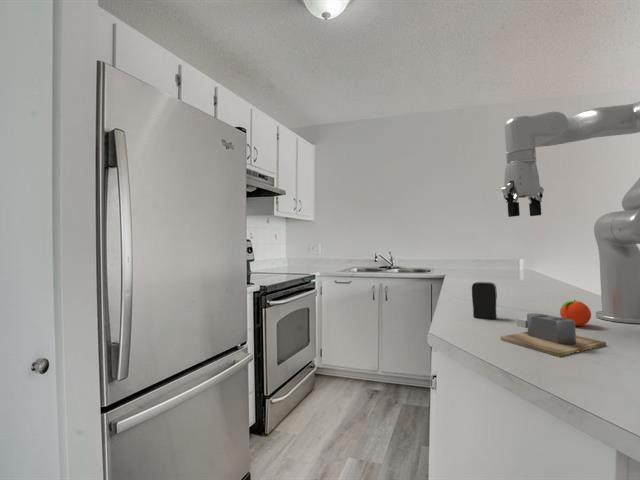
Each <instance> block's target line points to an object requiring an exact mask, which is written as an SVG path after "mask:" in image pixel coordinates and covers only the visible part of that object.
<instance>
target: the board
mask: <svg viewBox="0 0 640 480" xmlns="http://www.w3.org/2000/svg"><path fill="white" fill-rule="evenodd" d="M503 340H504V341H503ZM500 341H503V342H506V341H507V342H506V343H510V342H511V343H510V344H513V343H514V345H517V344H518V345H517V346H520V345H521V347H523V346H524V348H527V347H528V348H527V349H530V348H532V349H531V350H534V349H535V350H534V351H537V350H539V351H538V352H540V351H542V353H544V352H545V353H544V354H547V353H548V355H551V354H552V355H551V356H554V355H555V357H558V356H561V357H564V356H563V355H565V356H568V355H567V354H569V355H571V354H570V353H573V354H575V353H574V352H577V351H581V352H583V351H582V350H586V351H588V350H587V349H590V350H593V349H592V348H594V349H598V348H601V347H607V342H606V341H602V340H600V339H599V340H598V339H594V338H589V337H587V336H586V337H585V336H581V335H577V334H576V344H575V345H563V344H558V343H554V342H550V341H546V340H542V339H538V338H534V337H531V336H529V335H528V331H523V332H518V333H513V334H507V335H501V336H500ZM577 353H578V352H577Z"/></svg>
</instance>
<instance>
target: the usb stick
mask: <svg viewBox="0 0 640 480" xmlns="http://www.w3.org/2000/svg"><path fill="white" fill-rule="evenodd" d="M516 327H520V328H523V329H527V332H528V335H529V336H531V337H534V338H538V339H542V340H546V341H550V342H554V343H558V344H563V345H575V344H576V335H577V334H576V326H575V321H574V320H571V319H566V318H562V317H561V316H560V317H559V316H554V315H549V314H544V313H533V312H532V313H527V314H526V317H521V318H520V317H519V318H516Z"/></svg>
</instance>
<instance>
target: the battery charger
mask: <svg viewBox="0 0 640 480" xmlns="http://www.w3.org/2000/svg"><path fill="white" fill-rule="evenodd" d="M471 299H472V313H473V314H472V315H473V318H478V319H488V320H496V319H497V318H498V314H497V299H498V294H497V285H496V284H495V283H494V282H491V281H476V282H474V283H472V284H471Z"/></svg>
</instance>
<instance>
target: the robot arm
mask: <svg viewBox="0 0 640 480" xmlns="http://www.w3.org/2000/svg"><path fill="white" fill-rule="evenodd" d="M638 133H640V100H639V101H637V102H634V103H629V104H621V105H620V104H619V105H612V106H602V107H595V108H590V109H587V110H585V111H583V112H580V113H578V114H575V115H573V116H570V117H567V116H566V114H564V113H563V112H559V111H548V112H544V113H540V114H539V113H538V114H536V115H519V116H515V117H512V118H510V119H509V120H507V121H506V122H505V124H504V136H505V137H504V139H505V150H506V151H505V154H506V165H505V169H504V185H503V187H501V192H502V194H503V198H504V199H505V203H506V204H507V214H508V215H507V216H508V217H509V218H511V217H512V218H513V217H519V216H520V203H519V202H518V201H519V199H523V198H527V199H528V200H529V202H530V203H528V205H529V206H528V207H529V216H530V217H535V216H536V217H537V216H538V217H540V216H542V206H541V202H542V200H543V196H544V195H543V193H544V190H545V189H544V188H543V186H541V184H540V183H541V182H540V176H539V170H538V165H537V152H536V151H537V150H536V148H541V147H549V146H551V147H552V146H558V145H562V144H563V145H564V144H568V143H569V144H570V143H574V142H579V141H585V140H589V139H595V138H604V137H612V136H613V137H614V136H622V135H623V136H624V135H632V134H638ZM621 207H622V209H623V210H620V211H612V212H608V213H605V214H603V215H601V216H600V217H598V219H597V220H596V222H595V223H594V226H593V233H594V237H595V241H596V244H597V245H596V246H597V249H598V256H599V257H598V258H599V278H600V296H601V310H600V311H599V310H598V311H596V312H595V317H597V318H598V319H601V320H605V321H610V322H617V323H625V324H626V323H627V324H640V248H639V247H638V245H640V177H639V178H638V179H637V180H636V182H634V183H633V185H632V186H631V187H630V188H629V189H628V191H627V192H625V194H624V196H623V198H622V200H621Z"/></svg>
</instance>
